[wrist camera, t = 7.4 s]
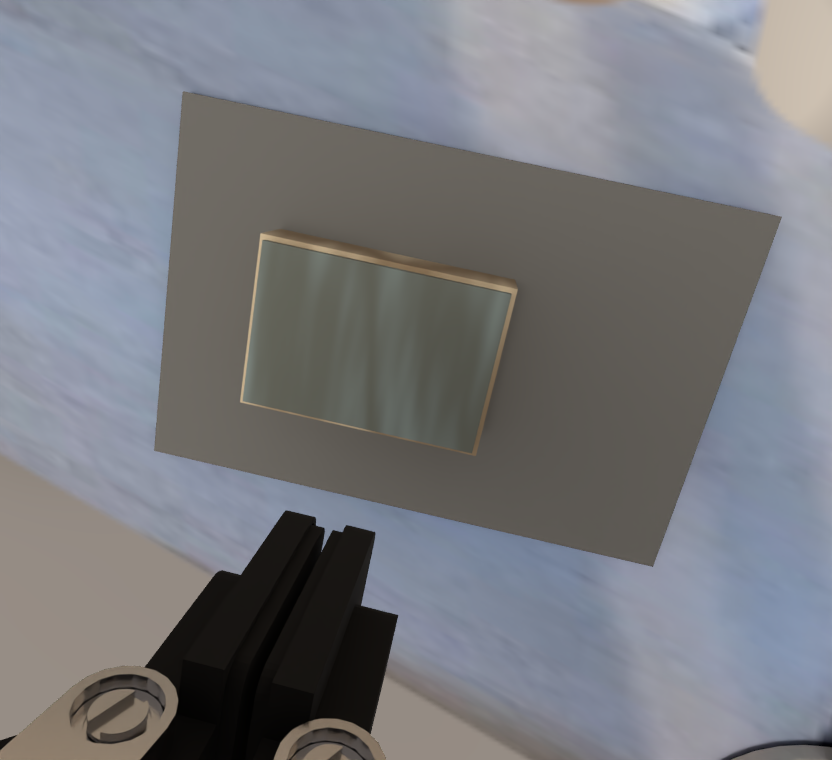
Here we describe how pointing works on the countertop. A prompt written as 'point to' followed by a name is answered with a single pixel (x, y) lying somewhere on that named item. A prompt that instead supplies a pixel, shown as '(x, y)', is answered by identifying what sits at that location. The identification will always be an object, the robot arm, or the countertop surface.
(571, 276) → the mat
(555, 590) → the countertop surface
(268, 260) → the card box
